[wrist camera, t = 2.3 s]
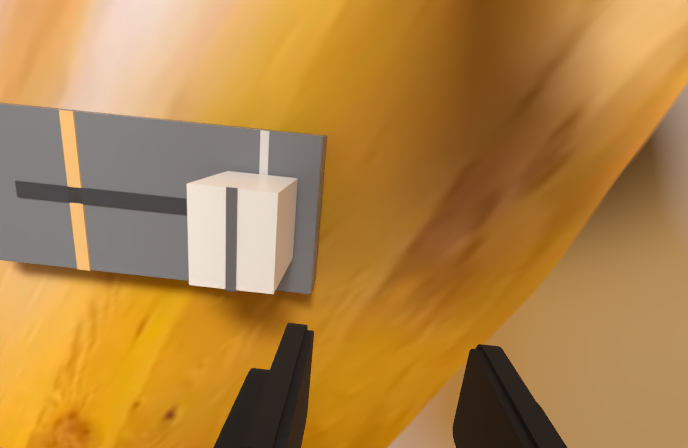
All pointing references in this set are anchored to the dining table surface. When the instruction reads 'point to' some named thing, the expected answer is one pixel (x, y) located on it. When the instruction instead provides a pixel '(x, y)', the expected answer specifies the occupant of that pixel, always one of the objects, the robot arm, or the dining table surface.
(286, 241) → the fader tab
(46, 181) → the board
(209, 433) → the dining table surface
